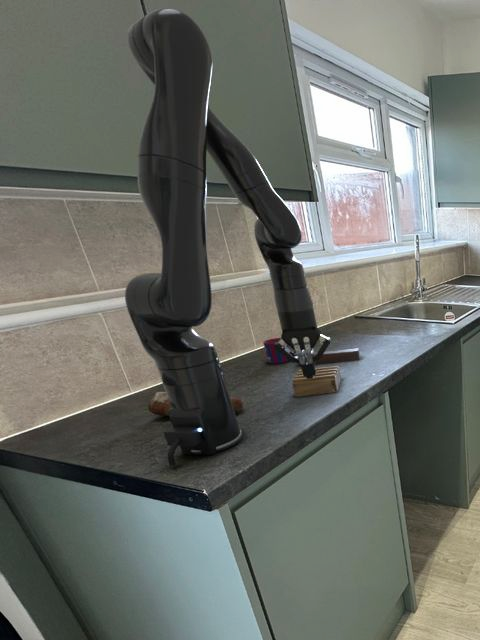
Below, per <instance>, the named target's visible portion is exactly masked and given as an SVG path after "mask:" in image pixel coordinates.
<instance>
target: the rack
mask: <svg viewBox="0 0 480 640" xmlns="http://www.w3.org/2000/svg"><path fill="white" fill-rule="evenodd" d="M341 381H342V376H341V370H340V367H339V365H331V366H322V367H321V366H320V367H316V375H314V378H309V379H307V378H306V377H304V375H303V372H302V369H298V370H297V372H296V374H295V375H294V378H292V389H293V393H294V396H295V398H298V397H299V398H300V397H306V396H313V395H324V394H330V393H331V394H332V393H338V392H339V391H338V390H339V387H340V384H341Z"/></svg>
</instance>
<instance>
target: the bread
mask: <svg viewBox="0 0 480 640" xmlns="http://www.w3.org/2000/svg"><path fill="white" fill-rule="evenodd" d="M230 399H231V402H232V405H233V408H234V412H235V414H236V413H238V412H241V411H242V410H243V408H244V405H243V404H244V403H243V401H242V399H241V398H239V397H233V396H230ZM147 408H148V411H149V412H150V413H152V414H153V415H155V416H160V417H169V414H168V409H170V408H171V405H170V402H169V399H168V397H167V394H166V391H156V392H155V393H153V395H152V397H151V399H150V401H149V402H148V403H147Z"/></svg>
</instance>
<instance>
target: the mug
mask: <svg viewBox="0 0 480 640" xmlns="http://www.w3.org/2000/svg"><path fill="white" fill-rule="evenodd" d="M281 339H282V338H281V337H275V338H269V339H266V340H264V341H263V347H264V351H265V355H266V358H267V363H268V364H270V365H280V364H284V363H288V362H291V361H290V360H288V359H287V358H286V357H284V356H283V355H282V354H281V353H279V352H278V351H277V350H276V349H274V347H273V346H274V345H275V343H276V342H279V341H280V340H281ZM286 345H287V348H288V349H289V350H291V349H290V346H289V345H288V344H287V343H286ZM292 352H293V353H294V354H295V355H296V351H295V350H293V351H292Z"/></svg>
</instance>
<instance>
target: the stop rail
mask: <svg viewBox="0 0 480 640" xmlns="http://www.w3.org/2000/svg"><path fill="white" fill-rule="evenodd" d="M317 352H318V351H317ZM317 352H313V353H314V355H315V354H317ZM305 355H306V353H305ZM306 358H307V356H306ZM360 360H361V354H360V348H359V347H357V348H349V349H338V350H328V351H327V350H326V351H325V352H324V353H323V355H322V357H321V358H320V360H318V361H315V362H314V363H315V365H323V364H334V363H341V362H352V361H360ZM297 366H298V367H301V365H300V364H299V363H297Z"/></svg>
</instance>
